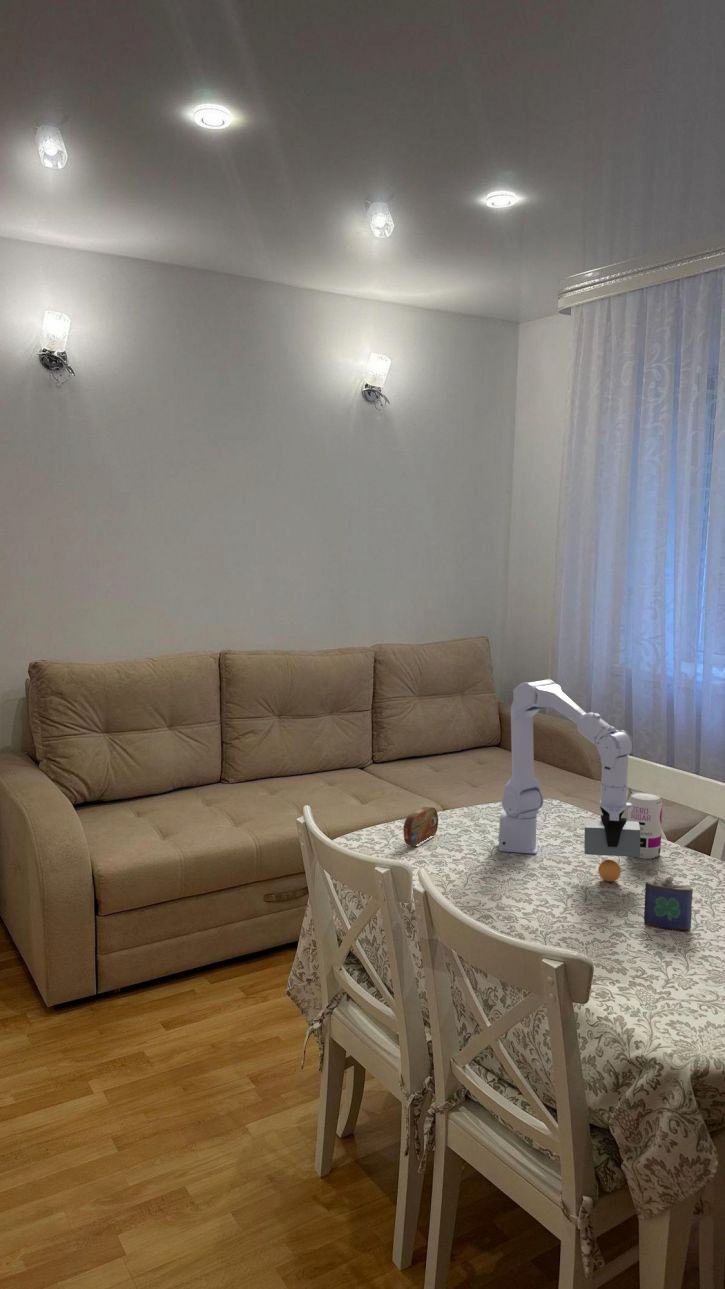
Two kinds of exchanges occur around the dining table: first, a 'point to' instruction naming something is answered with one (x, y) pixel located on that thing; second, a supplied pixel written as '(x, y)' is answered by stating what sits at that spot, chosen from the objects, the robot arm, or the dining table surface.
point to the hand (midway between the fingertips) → (611, 841)
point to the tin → (420, 825)
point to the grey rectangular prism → (598, 842)
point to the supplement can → (647, 822)
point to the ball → (609, 870)
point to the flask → (668, 905)
